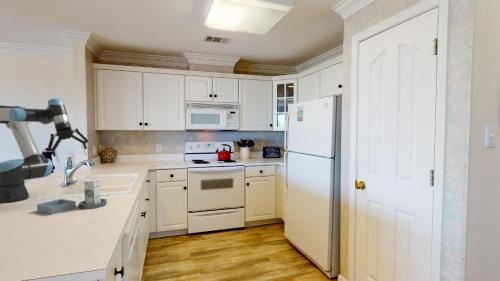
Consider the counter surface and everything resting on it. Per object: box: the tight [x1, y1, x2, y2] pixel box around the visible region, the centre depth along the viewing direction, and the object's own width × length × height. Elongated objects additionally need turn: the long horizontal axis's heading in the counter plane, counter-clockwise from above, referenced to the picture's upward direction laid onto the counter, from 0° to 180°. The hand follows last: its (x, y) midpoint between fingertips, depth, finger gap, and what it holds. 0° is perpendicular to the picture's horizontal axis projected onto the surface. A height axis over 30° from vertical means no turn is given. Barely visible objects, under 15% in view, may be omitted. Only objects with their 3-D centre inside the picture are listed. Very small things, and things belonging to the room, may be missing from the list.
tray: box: [36, 198, 77, 216], centre depth 141 cm, size 12×12×4 cm
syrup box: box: [83, 178, 102, 205], centre depth 148 cm, size 6×6×14 cm
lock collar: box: [78, 198, 108, 210], centre depth 149 cm, size 13×13×2 cm
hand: (72, 157), depth 156 cm, fingers open, 13 cm apart
